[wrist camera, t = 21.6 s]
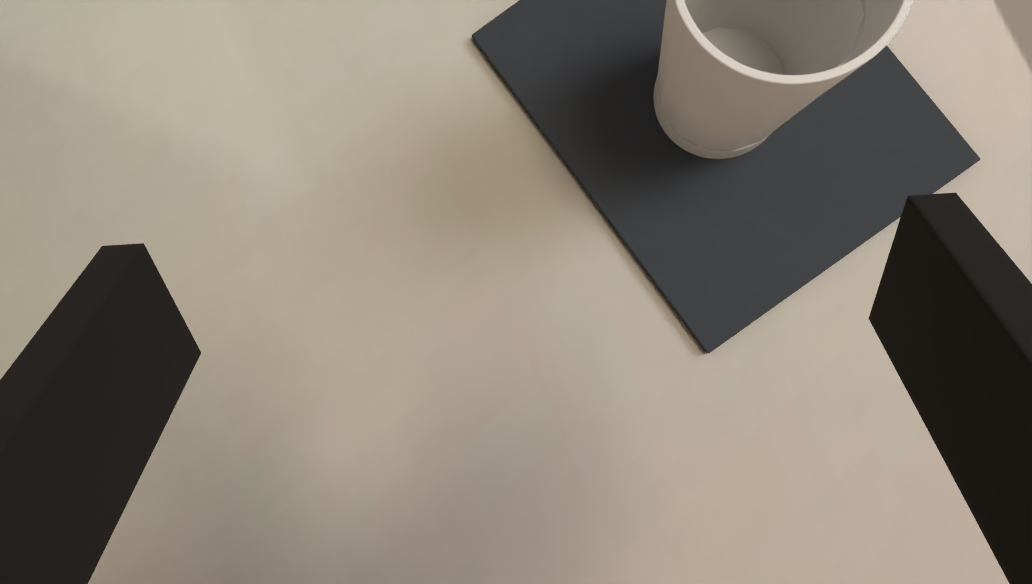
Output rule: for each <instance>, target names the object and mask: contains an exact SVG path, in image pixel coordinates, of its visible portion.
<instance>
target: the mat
mask: <svg viewBox="0 0 1032 584" xmlns="http://www.w3.org/2000/svg"><path fill="white" fill-rule="evenodd" d="M665 9H666V0H519V1H518V2H517V3H515V4H514V5H512V6H511V7H510V8H508V9H507V10H506V11H504V12H503V13H501V14H500V15H499V16H497V17H496V18H495V19H493V20H492V21H490V22H489V23H488V24H486V25H485V26H483V27H482V28H481V29H479V30H478V31H477V32H475V33H474V34H472V38H473V40H474V41H475V43H476V44H477V45H478V47H479V48H480V49H481V51H482V52H483V53H484V55H485V56H486V57H487V59H488V60H489V61H490V63H491V64H492V66H493V67H494V68H495V70H496V71H497V72H498V74H499V75H500V76H501V78H502V79H503V80H504V82H505V83H506V84H507V86H508V87H509V88H510V90H511V91H512V92H513V94H514V95H515V96H516V98H517V99H518V100H519V102H520V103H521V105H522V106H523V107H524V109H525V110H526V111H527V113H528V114H529V115H530V117H531V118H532V119H533V121H534V122H535V123H536V125H537V126H538V127H539V129H540V130H541V131H542V133H543V134H544V135H545V137H546V138H547V139H548V141H549V142H550V143H551V145H552V146H553V148H554V149H555V150H556V152H557V153H558V154H559V156H560V157H561V158H562V160H563V161H564V162H565V164H566V165H567V166H568V168H569V169H570V170H571V172H572V173H573V174H574V176H575V177H576V178H577V180H578V181H579V182H580V184H581V185H582V187H583V188H584V189H585V191H586V192H587V193H588V195H589V196H590V197H591V199H592V200H593V201H594V203H595V204H596V205H597V207H598V208H599V209H600V211H601V212H602V213H603V215H604V216H605V217H606V219H607V220H608V221H609V223H610V224H611V225H612V227H613V228H614V230H615V231H616V232H617V234H618V235H619V236H620V238H621V239H622V240H623V242H624V243H625V244H626V246H627V247H628V248H629V250H630V251H631V252H632V254H633V255H634V256H635V258H636V259H637V260H638V262H639V263H640V264H641V266H642V267H643V269H644V270H645V271H646V273H647V274H648V275H649V277H650V278H651V279H652V281H653V282H654V283H655V285H656V286H657V287H658V289H659V290H660V291H661V293H662V294H663V295H664V297H665V298H666V299H667V301H668V302H669V303H670V305H671V306H672V307H673V309H674V310H675V312H676V313H677V314H678V316H679V317H680V318H681V320H682V321H683V322H684V324H685V325H686V326H687V328H688V329H689V330H690V332H691V333H692V334H693V336H694V337H695V338H696V340H697V341H698V342H699V344H700V345H701V346H702V348H703V349H704V351H705V352H706V353H710V352H711V351H713V350H714V349H716V348H717V347H718V346H720V345H721V344H723V343H724V342H725V341H727V340H728V339H730V338H731V337H732V336H734V335H735V334H737V333H738V332H739V331H741V330H742V329H744V328H745V327H746V326H748V325H749V324H751V323H752V322H753V321H755V320H756V319H758V318H759V317H760V316H762V315H763V314H765V313H766V312H767V311H769V310H770V309H772V308H773V307H774V306H776V305H777V304H779V303H780V302H781V301H783V300H784V299H786V298H787V297H788V296H790V295H791V294H793V293H794V292H795V291H797V290H798V289H800V288H801V287H802V286H804V285H805V284H807V283H808V282H809V281H811V280H812V279H814V278H815V277H816V276H818V275H819V274H821V273H822V272H823V271H825V270H826V269H828V268H829V267H830V266H832V265H833V264H835V263H836V262H837V261H839V260H840V259H842V258H843V257H844V256H846V255H847V254H849V253H850V252H851V251H853V250H854V249H856V248H857V247H858V246H860V245H861V244H863V243H864V242H865V241H867V240H868V239H870V238H871V237H872V236H874V235H875V234H877V233H878V232H879V231H881V230H882V229H884V228H885V227H887V226H888V225H889V224H891V223H892V222H894V221H895V220H896V219H898V218H899V217H901V215H902V212H903V209H904V206H905V202H906V199H907V196H912V195H928V194H933V193H934V192H936V191H937V190H938V189H940V188H941V187H943V186H944V185H945V184H947V183H948V182H950V181H951V180H952V179H954V178H955V177H957V176H958V175H959V174H961V173H962V172H964V171H965V170H966V169H968V168H969V167H971V166H972V165H973V164H975V163H976V162H978V161H979V160H980V158H979V157H978V155H977V154H976V153H975V152H974V151H973V149H972V148H971V147H970V146H969V144H968V143H967V142H966V141H965V140H964V138H963V137H962V136H961V135H960V134H959V132H958V131H957V130H956V129H955V128H954V126H953V125H952V124H951V123H950V122H949V120H948V119H947V118H946V117H945V115H944V114H943V113H942V112H941V111H940V109H939V108H938V107H937V106H936V105H935V103H934V102H933V101H932V100H931V99H930V97H929V96H928V95H927V94H926V92H925V91H924V90H923V89H922V88H921V86H920V85H919V84H918V83H917V82H916V80H915V79H914V78H913V77H912V76H911V74H910V73H909V72H908V71H907V70H906V68H905V67H904V66H903V65H902V63H901V62H900V61H899V60H898V59H897V57H896V56H895V55H894V54H893V53H892V51H891V50H890V49H889V48H888V47H887V45H886V46H885V47H884V48H883V49H882V50H881V51H880V52H879V53H878V54H877V55H876V56H874V57H873V58H872V59H870V60H869V61H868V62H866V63H865V64H864V65H862V66H861V67H859V68H858V69H857V70H855V71H854V72H852V73H851V74H850V75H848V76H847V77H845V78H844V79H843V80H841V81H840V82H839V83H837V84H836V85H834V86H833V87H832V88H830V89H829V90H827V91H826V92H824V93H823V94H822V95H820V96H819V97H818V98H816V99H815V100H814V101H812V102H811V103H810V104H808V105H807V106H806V107H805V108H803V109H802V110H801V111H799V112H798V113H797V114H795V115H794V116H793V117H791V118H790V119H789V120H788V121H786V122H785V123H784V124H782V125H781V126H780V127H778V128H777V129H776V130H775V131H773V132H772V133H771V134H770V135H769V136H768V137H767V138H766V139H765V140H764V141H763V142H762V143H761V144H760V145H759V146H757V147H756V148H754V149H753V150H751V151H749V152H747V153H745V154H742V155H740V156H736V157H732V158H726V159H711V158H704V157H700V156H697V155H694V154H692V153H689V152H687V151H686V150H684V149H682V148H681V147H679V146H678V145H677V144H675V143H674V142H673V141H672V140H671V139H670V138H669V137H668V136H667V134H666V133H665V132H664V130H663V129H662V127H661V125H660V123H659V121H658V118H657V116H656V112H655V108H654V86H655V82H656V79H657V75H658V68H659V59H660V51H661V43H662V34H663V26H664V18H665Z"/></svg>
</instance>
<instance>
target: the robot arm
mask: <svg viewBox="0 0 1032 584" xmlns="http://www.w3.org/2000/svg"><path fill="white" fill-rule="evenodd" d="M869 320H870V322H871V324H872V326H873V327H874V329H875V331H876V333H877V335H878V337H879V339H880V341H881V343H882V344H883V346H884V348H885V350H886V352H887V354H888V356H889V358H890V359H891V361H892V363H893V365H894V367H895V369H896V371H897V373H898V375H899V376H900V378H901V380H902V382H903V384H904V386H905V388H906V390H907V391H908V393H909V395H910V397H911V399H912V401H913V403H914V405H915V407H916V408H917V410H918V412H919V414H920V416H921V418H922V420H923V422H924V423H925V425H926V427H927V429H928V431H929V433H930V435H931V437H932V439H933V440H934V442H935V444H936V446H937V448H938V450H939V452H940V454H941V455H942V457H943V459H944V461H945V463H946V465H947V467H948V469H949V471H950V472H951V474H952V476H953V478H954V480H955V482H956V484H957V486H958V487H959V489H960V491H961V493H962V495H963V497H964V499H965V501H966V502H967V504H968V506H969V508H970V510H971V512H972V514H973V516H974V518H975V519H976V521H977V523H978V525H979V527H980V529H981V531H982V533H983V534H984V536H985V538H986V540H987V542H988V544H989V546H990V548H991V550H992V551H993V553H994V555H995V557H996V559H997V561H998V563H999V565H1000V566H1001V568H1002V570H1003V572H1004V574H1005V576H1006V578H1007V580H1008V582H1009V583H1010V584H1032V284H1031V283H1030V281H1029V280H1028V279H1027V278H1026V277H1025V275H1024V274H1023V273H1022V272H1021V271H1020V269H1019V268H1018V267H1017V266H1016V265H1015V263H1014V262H1013V261H1012V260H1011V259H1010V257H1009V256H1008V255H1007V254H1006V253H1005V251H1004V250H1003V249H1002V248H1001V247H1000V245H999V244H998V243H997V242H996V241H995V239H994V238H993V237H992V236H991V235H990V233H989V232H988V231H987V230H986V229H985V227H984V226H983V225H982V224H981V222H980V221H979V220H978V219H977V218H976V216H975V215H974V214H973V213H972V212H971V210H970V209H969V208H968V207H967V206H966V204H965V203H964V202H963V201H962V200H961V198H960V197H959V196H958V195H957V194H956V193H944V194H928V195H912V196H907V199H906V202H905V206H904V209H903V212H902V215H901V218H900V221H899V224H898V228H897V231H896V234H895V237H894V240H893V243H892V247H891V250H890V253H889V256H888V259H887V262H886V266H885V269H884V272H883V275H882V278H881V281H880V285H879V288H878V291H877V294H876V297H875V300H874V304H873V307H872V310H871V313H870V316H869ZM200 354H201V352H200V350H199V348H198V346H197V344H196V342H195V340H194V338H193V336H192V334H191V333H190V331H189V329H188V327H187V325H186V323H185V321H184V319H183V317H182V315H181V314H180V312H179V310H178V308H177V306H176V304H175V302H174V300H173V298H172V296H171V295H170V293H169V291H168V289H167V287H166V285H165V283H164V281H163V279H162V277H161V276H160V274H159V272H158V270H157V268H156V266H155V264H154V262H153V260H152V258H151V257H150V255H149V253H148V251H147V249H146V247H145V245H144V243H143V244H127V245H111V246H102V247H101V248H100V250H99V251H98V252H97V254H96V255H95V256H94V258H93V259H92V260H91V262H90V263H89V264H88V266H87V267H86V268H85V270H84V271H83V272H82V273H81V275H80V276H79V277H78V279H77V280H76V281H75V283H74V284H73V285H72V287H71V288H70V289H69V291H68V292H67V293H66V294H65V296H64V297H63V298H62V300H61V301H60V302H59V304H58V305H57V306H56V308H55V309H54V310H53V312H52V313H51V314H50V316H49V317H48V318H47V319H46V321H45V322H44V323H43V325H42V326H41V327H40V329H39V330H38V331H37V333H36V334H35V335H34V337H33V338H32V339H31V341H30V342H29V343H28V344H27V346H26V347H25V348H24V350H23V351H22V352H21V354H20V355H19V356H18V358H17V359H16V360H15V362H14V363H13V364H12V365H11V367H10V368H9V369H8V371H7V372H6V373H5V375H4V376H3V377H2V379H1V380H0V584H88V582H89V580H90V578H91V576H92V574H93V572H94V570H95V568H96V566H97V564H98V562H99V559H100V557H101V555H102V553H103V551H104V549H105V547H106V545H107V543H108V541H109V539H110V537H111V535H112V533H113V531H114V529H115V527H116V525H117V523H118V521H119V519H120V517H121V515H122V513H123V511H124V509H125V507H126V505H127V503H128V501H129V498H130V496H131V494H132V492H133V490H134V488H135V486H136V484H137V482H138V480H139V478H140V476H141V474H142V472H143V470H144V468H145V466H146V464H147V462H148V460H149V458H150V456H151V454H152V452H153V450H154V448H155V446H156V444H157V442H158V440H159V438H160V435H161V433H162V431H163V429H164V427H165V425H166V423H167V421H168V419H169V417H170V415H171V413H172V411H173V409H174V407H175V405H176V403H177V401H178V399H179V397H180V395H181V393H182V391H183V389H184V387H185V385H186V383H187V381H188V379H189V377H190V374H191V372H192V370H193V368H194V366H195V364H196V362H197V360H198V358H199V356H200Z"/></svg>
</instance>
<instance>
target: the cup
mask: <svg viewBox="0 0 1032 584" xmlns="http://www.w3.org/2000/svg"><path fill="white" fill-rule="evenodd" d="M912 3H913V0H666V9H665V18H664V26H663V34H662V43H661V51H660V59H659V68H658V75H657V79H656V82H655V86H654V108H655V112H656V116H657V118H658V121H659V123H660V125H661V127H662V129H663V130H664V132H665V133H666V134H667V136H668V137H669V138H670V139H671V140H672V141H673V142H674V143H675V144H677V145H678V146H679V147H681V148H682V149H684V150H686V151H687V152H689V153H692V154H694V155H697V156H700V157H704V158H711V159H726V158H732V157H736V156H740V155H742V154H745V153H747V152H749V151H751V150H753V149H754V148H756V147H757V146H759V145H760V144H761V143H762V142H763V141H764V140H765V139H766V138H767V137H768V136H769V135H770V134H771V133H772V132H773V131H775V130H776V129H777V128H778V127H780V126H781V125H782V124H784V123H785V122H786V121H788V120H789V119H790V118H791V117H793V116H794V115H795V114H797V113H798V112H799V111H801V110H802V109H803V108H805V107H806V106H807V105H808V104H810V103H811V102H812V101H814V100H815V99H816V98H818V97H819V96H820V95H822V94H823V93H824V92H826V91H827V90H829V89H830V88H832V87H833V86H834V85H836V84H837V83H839V82H840V81H841V80H843V79H844V78H845V77H847V76H848V75H850V74H851V73H852V72H854V71H855V70H857V69H858V68H859V67H861V66H862V65H864V64H865V63H866V62H868V61H869V60H870V59H872V58H873V57H874V56H876V55H877V54H878V53H879V52H880V51H881V50H882V49H883V48H884V47H885V46H886V45H887V44H888V43H889V42H890V41H891V40H892V38H893V37H894V36H895V35H896V33H897V32H898V31H899V29H900V27H901V26H902V24H903V23H904V21H905V19H906V17H907V15H908V13H909V11H910V8H911V5H912Z"/></svg>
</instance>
